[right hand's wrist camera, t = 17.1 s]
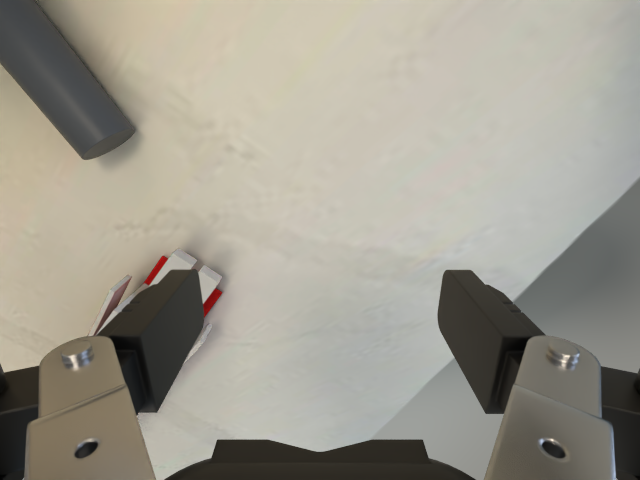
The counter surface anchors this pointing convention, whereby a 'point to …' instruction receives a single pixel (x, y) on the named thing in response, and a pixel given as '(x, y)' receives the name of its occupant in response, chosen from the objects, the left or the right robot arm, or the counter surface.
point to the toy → (163, 266)
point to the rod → (58, 81)
